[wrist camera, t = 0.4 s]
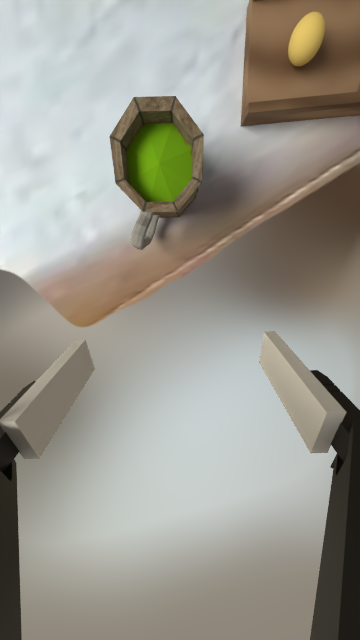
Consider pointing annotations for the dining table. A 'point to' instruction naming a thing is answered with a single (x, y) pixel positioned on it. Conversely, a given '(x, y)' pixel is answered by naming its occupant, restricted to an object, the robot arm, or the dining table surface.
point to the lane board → (300, 81)
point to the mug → (157, 161)
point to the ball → (306, 38)
